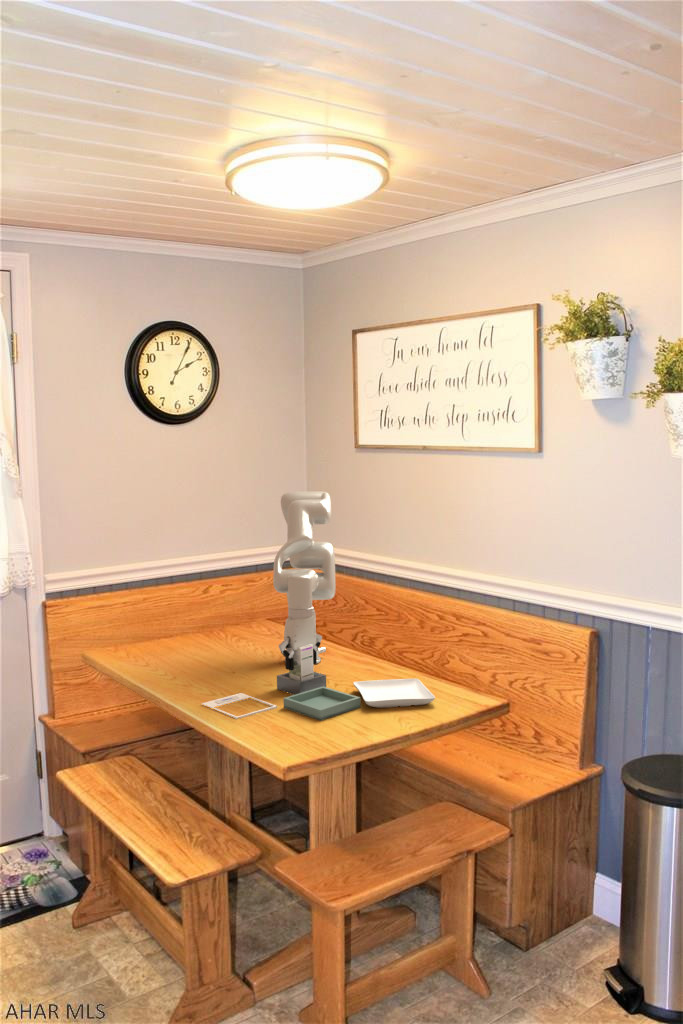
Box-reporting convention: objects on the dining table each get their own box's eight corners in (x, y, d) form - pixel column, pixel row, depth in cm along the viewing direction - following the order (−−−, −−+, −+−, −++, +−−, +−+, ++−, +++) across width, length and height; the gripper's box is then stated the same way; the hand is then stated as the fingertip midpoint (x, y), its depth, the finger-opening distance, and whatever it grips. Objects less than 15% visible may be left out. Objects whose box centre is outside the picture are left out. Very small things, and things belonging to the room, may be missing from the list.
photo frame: (241, 692, 265) (277, 705, 252) (241, 695, 265) (277, 708, 252) (201, 702, 256) (236, 716, 242) (201, 706, 256) (236, 720, 242)
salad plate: (417, 687, 272) (417, 676, 272) (436, 708, 251) (436, 696, 251) (352, 691, 268) (352, 680, 268) (365, 713, 248) (365, 701, 247)
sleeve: (302, 682, 278) (302, 668, 277) (326, 689, 270) (326, 675, 269) (276, 689, 270) (276, 675, 270) (300, 696, 262) (299, 682, 262)
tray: (323, 695, 263) (323, 686, 263) (360, 707, 251) (360, 697, 251) (283, 708, 252) (283, 698, 251) (320, 720, 240) (320, 710, 240)
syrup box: (314, 688, 270) (314, 643, 269) (301, 693, 266) (300, 647, 264) (302, 685, 274) (301, 641, 273) (288, 689, 270) (287, 644, 268)
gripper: (312, 607, 276) (313, 659, 278) (271, 615, 264) (272, 669, 266) (328, 610, 271) (329, 663, 273) (287, 619, 259) (288, 674, 261)
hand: (301, 666), depth 269 cm, fingers open, 9 cm apart
